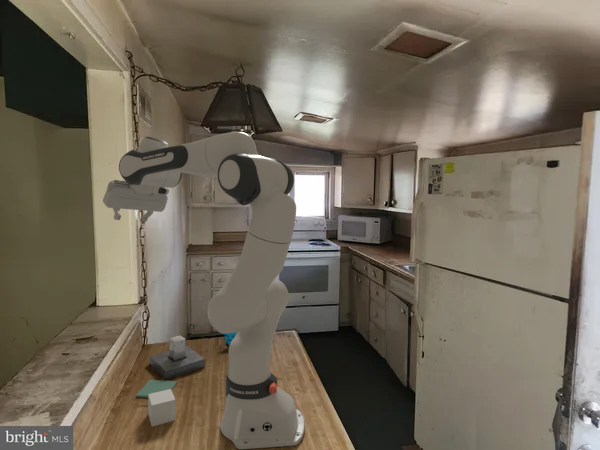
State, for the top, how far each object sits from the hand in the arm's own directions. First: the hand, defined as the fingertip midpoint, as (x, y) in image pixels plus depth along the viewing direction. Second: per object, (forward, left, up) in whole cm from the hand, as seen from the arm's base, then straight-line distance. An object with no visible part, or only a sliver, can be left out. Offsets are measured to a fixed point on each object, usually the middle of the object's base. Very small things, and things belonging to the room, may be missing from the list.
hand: (130, 220), depth 122 cm
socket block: (-16, -1, -51) cm, 54 cm away
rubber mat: (-16, +15, -51) cm, 56 cm away
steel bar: (-16, -1, -52) cm, 54 cm away
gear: (-32, -21, -52) cm, 65 cm away
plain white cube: (-23, +28, -52) cm, 63 cm away
